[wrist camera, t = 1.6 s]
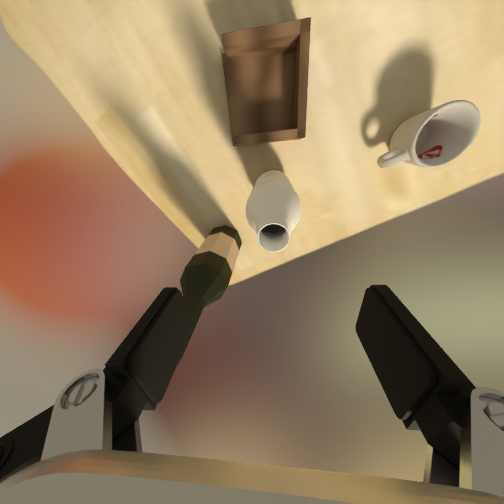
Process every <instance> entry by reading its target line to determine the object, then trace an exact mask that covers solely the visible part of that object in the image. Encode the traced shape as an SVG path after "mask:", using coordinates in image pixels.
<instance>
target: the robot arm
mask: <svg viewBox="0 0 504 504" xmlns="http://www.w3.org/2000/svg"><path fill="white" fill-rule="evenodd" d="M192 328H193V324H192V321H191V318H190V315H189V313H188V310H187V307H186V304H185V302H184V299H183V296H182V293H181V291H180V290H178V289H177V288H175V287H173V288H172V287H169V288H168V287H166V288H164V289H163V290H162V291H161V292H160V294H159V295H158V296H157V298H156V299H155V300H154V302H153V303H152V304H151V306H150V307H149V308H148V309H147V311H146V312H145V313H144V315H143V316H142V317H141V319H140V320H139V321H138V322H137V324H136V325H135V326H134V328H133V329H132V330H131V331H130V333H129V334H128V335H127V337H126V338H125V339H124V341H123V342H122V343H121V344H120V346H119V347H118V348H117V350H116V351H115V352H114V354H113V355H112V356H111V358H110V359H109V360H108V361H107V363H106V364H105V366H106V367H105V368H104V370H103V371H102V370H100V369H93V370H89V371H87V372H84V373H82V374H81V375H79V376H78V377H76V378H75V379H74V380H72V381H71V382H70V383H69V384H68V385H67V386H66V387H65V388H64V389H63V390H62V391H61V393H60V394H59V396H58V397H57V399H56V402H55V404H54V405H53V406H51V407H50V408H48V409H47V410H45V411H44V412H42V413H40V414H38V415H37V416H35V417H34V418H32V419H30V420H29V421H27V422H25V423H24V424H22V425H20V426H19V427H17V428H15V429H14V430H12V431H11V432H9V433H7V434H6V435H4V436H2V437H1V438H0V504H504V393H502V392H500V391H498V390H495V389H491V388H487V387H477V388H476V387H475V386H474V385H473V384H472V383H471V381H470V380H469V379H468V378H467V377H466V376H465V375H464V373H463V372H462V371H461V370H460V369H459V368H458V366H457V365H456V364H455V363H454V362H453V361H452V360H451V358H450V357H449V356H448V355H447V354H446V353H445V352H444V350H443V349H442V348H441V347H440V346H439V345H438V343H437V342H436V341H435V340H434V339H433V338H432V337H431V335H430V334H429V333H428V332H427V331H426V330H425V329H424V328H423V326H422V325H421V324H420V323H419V322H418V321H417V319H416V318H415V317H414V316H413V315H412V314H411V313H410V311H409V310H408V309H407V308H406V307H405V306H404V304H402V302H401V301H400V300H399V299H398V297H397V296H396V295H395V294H394V293H393V292H392V291H391V290H390V288H389V287H388V286H386V285H371V286H370V287H369V288H367V289H366V291H365V295H364V298H363V302H362V305H361V309H360V312H359V316H358V320H357V323H356V332H357V335H358V337H359V339H360V341H361V343H362V345H363V348H364V350H365V352H366V354H367V355H368V358H369V360H370V362H371V364H372V366H373V368H374V371H375V373H376V375H377V377H378V379H379V381H380V383H381V385H382V387H383V390H384V391H385V393H386V396H387V398H388V400H389V402H390V404H391V406H392V408H393V410H394V412H395V414H396V416H397V417H398V418H399V419H401V420H402V421H403V423H404V425H405V427H406V429H409V430H421V432H422V433H423V435H424V437H425V439H426V441H427V443H428V446H427V454H426V461H425V462H426V463H425V469H424V477H423V482H417V481H409V480H401V479H394V478H385V477H376V476H366V475H358V474H348V473H339V472H330V471H321V470H311V469H303V468H292V467H283V466H274V465H264V464H255V463H245V462H236V461H225V460H216V459H206V458H196V457H186V456H176V455H166V454H156V453H145V452H142V443H141V434H140V424H139V416H140V414H141V412H142V410H155V408H156V405H157V403H159V402H160V401H161V400H162V398H163V396H164V394H165V392H166V390H167V387H168V385H169V383H170V380H171V378H172V376H173V373H174V371H175V369H176V366H177V364H178V362H179V359H180V357H181V355H182V352H183V350H184V348H185V346H186V343H187V341H188V339H189V336H190V334H191V332H192Z"/></svg>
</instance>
